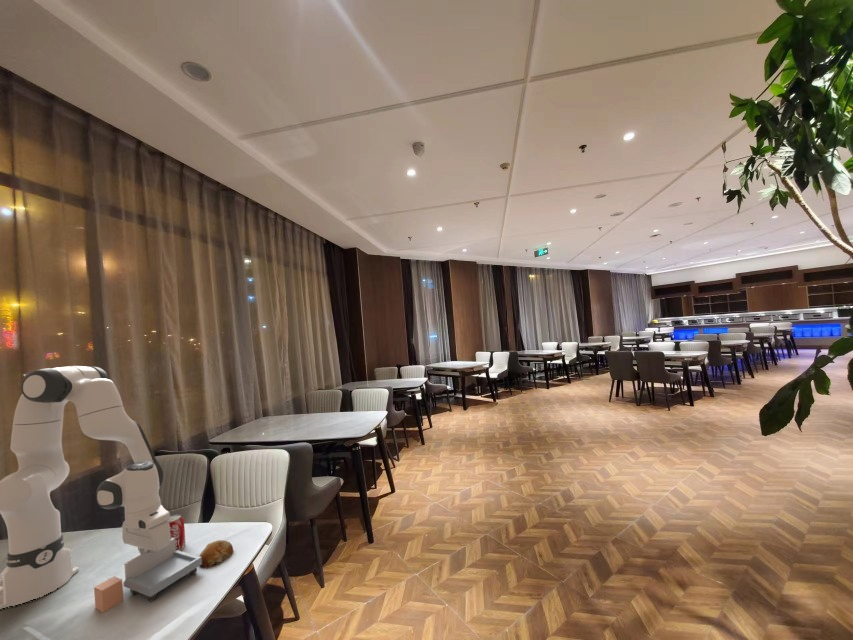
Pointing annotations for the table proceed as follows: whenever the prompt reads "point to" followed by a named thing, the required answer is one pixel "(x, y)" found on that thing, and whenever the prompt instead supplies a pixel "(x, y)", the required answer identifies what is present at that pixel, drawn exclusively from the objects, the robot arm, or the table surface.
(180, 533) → the soda can
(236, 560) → the table surface
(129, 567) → the grey open tray
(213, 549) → the bread roll
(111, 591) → the block
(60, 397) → the robot arm
